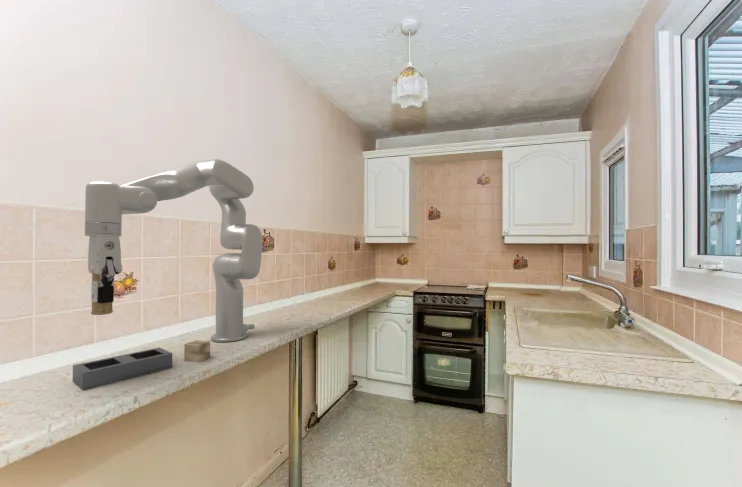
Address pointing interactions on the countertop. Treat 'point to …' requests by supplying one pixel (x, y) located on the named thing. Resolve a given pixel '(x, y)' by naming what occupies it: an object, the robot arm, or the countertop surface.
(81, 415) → the countertop surface
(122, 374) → the grey compartment tray
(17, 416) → the countertop surface
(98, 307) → the sprinkles bottle
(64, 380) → the countertop surface
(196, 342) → the block
